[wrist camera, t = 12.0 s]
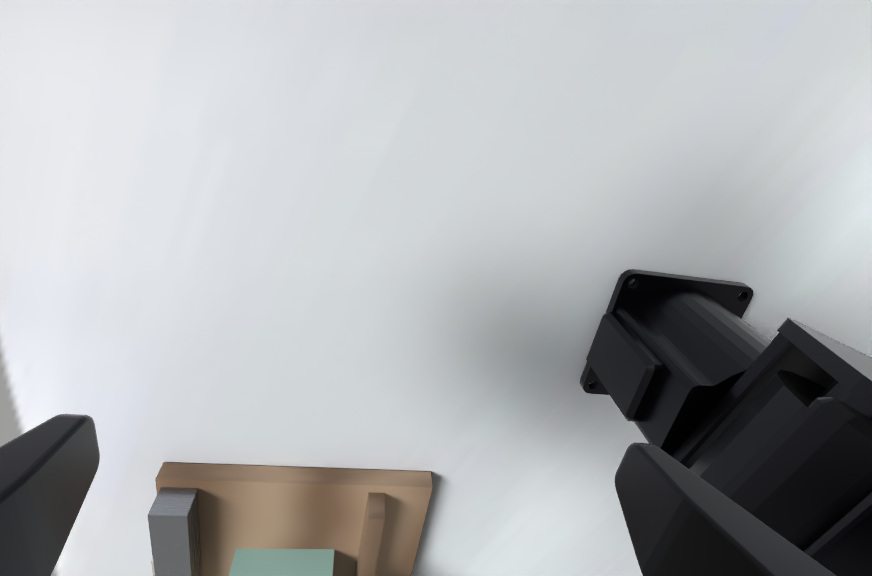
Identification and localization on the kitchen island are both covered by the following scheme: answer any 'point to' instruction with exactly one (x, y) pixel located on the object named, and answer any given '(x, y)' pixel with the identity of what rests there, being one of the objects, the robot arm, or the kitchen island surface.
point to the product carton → (282, 562)
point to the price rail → (175, 532)
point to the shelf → (307, 513)
